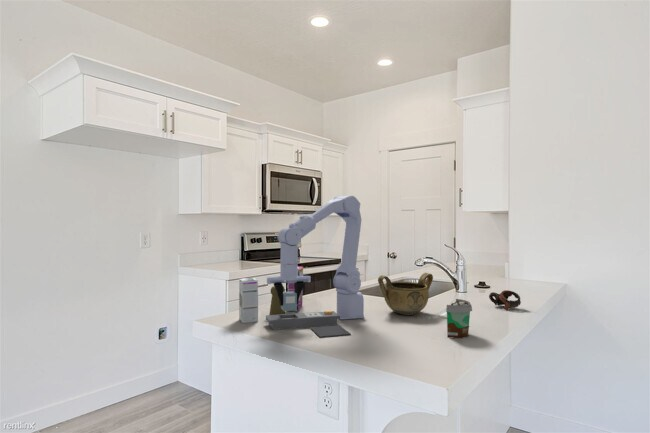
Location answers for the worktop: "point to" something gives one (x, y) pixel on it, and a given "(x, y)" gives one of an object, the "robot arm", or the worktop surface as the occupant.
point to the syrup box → (248, 300)
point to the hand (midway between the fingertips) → (288, 304)
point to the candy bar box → (291, 288)
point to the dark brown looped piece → (505, 299)
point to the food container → (458, 318)
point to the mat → (330, 331)
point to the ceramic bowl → (406, 294)
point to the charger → (289, 301)
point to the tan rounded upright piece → (275, 303)
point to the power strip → (302, 320)
